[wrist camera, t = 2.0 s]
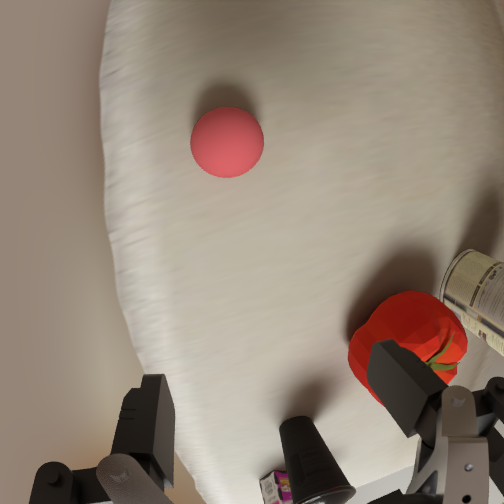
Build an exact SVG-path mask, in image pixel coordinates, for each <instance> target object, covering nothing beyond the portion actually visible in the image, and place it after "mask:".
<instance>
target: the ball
mask: <svg viewBox="0 0 504 504" xmlns="http://www.w3.org/2000/svg"><path fill="white" fill-rule="evenodd" d="M190 145H191V151H192V155H193V157H194V159H195V161H196V162H197V164H198V165H199V166H200V167H201V168H202V169H203V170H204V171H206V172H207V173H209V174H211V175H214V176H217V177H223V178H230V177H236V176H239V175H242V174H244V173H246V172H248V171H249V170H250V169H251V168H253V167H254V166H255V164H256V163H257V162H258V160H259V159H260V157H261V154H262V151H263V147H264V137H263V132H262V129H261V127H260V125H259V123H258V122H257V120H256V119H255V118H254V117H253V116H252V115H251V114H249V113H248V112H246V111H244V110H242V109H239V108H235V107H220V108H216V109H214V110H211V111H209V112H208V113H206V114H205V115H203V116H202V117H201V118H200V119H199V120H198V122H197V123H196V125H195V126H194V129H193V131H192V134H191V141H190Z"/></svg>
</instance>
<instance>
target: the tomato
mask: <svg viewBox="0 0 504 504" xmlns="http://www.w3.org/2000/svg"><path fill="white" fill-rule="evenodd" d="M386 339H393V340H394V341H395V342H396V343H397V344H398V345H399V346H400V347H404V348H406V349H408V350H410V351H412V352H414V353H415V354H416V355H417V356H418V357H419V358H420V359H421V361H423V362H425V363H426V364H427V367H428V366H429V367H430V368H431V369H432V370H433V371H434V372H435V373H436V374H437V375H438V376H439V377H440V378H441V379H442V380H443V381H444V382H445V383H446V384H448V383H449V382H450V381H451V380H452V379H453V378H454V376H455V375H456V374H457V365H458V364H459V363H460V362H459V363H457V362H458V361H460V360H461V358H462V357H463V356H464V354H465V353H466V352H467V343H468V340H467V337H466V333H465V330H464V328H463V326H462V324H461V322H460V320H459V319H458V318H457V316H456V315H455V313H454V312H453V311H452V310H451V309H450V308H448V307H447V306H446V305H445V304H444V303H442V302H441V301H440V300H438V299H437V298H436V297H434V296H432V295H430V294H428V293H425V292H418V291H411V290H408V291H405V292H402V293H398V294H395V295H392V296H391V297H389V298H388V299H386V300H385V301H384V302H382V303H381V304H380V305H379V306H378V307H377V308H376V310H375V311H374V312H373V313H372V315H371V316H370V318H369V320H368V321H367V322H366V323H365V324H364V325H363V326H362V327H360V328H359V329H357V330H356V331H355V333H354V335H353V337H352V339H351V341H350V344H349V351H348V361H349V365H350V368H351V370H352V371H353V373H354V375H355V377H356V378H357V379H358V380H359V381H360V382H361V384H362V385H363V386H364V387H366V388H367V389H368V391H369V392H370V393H371V394H372V396H373V397H374V398H375V399H376V400H377V401H378V402H379V403H381V404H382V405H383V403H382V402H381V401H380V399H379V398H378V397H377V395H376V394H375V392H374V391H373V390H372V388H371V387H370V386H369V384H368V381H367V376H366V373H367V368H368V363H369V358H370V354H371V349H372V345H373V344H374V343H375V342H379V341H383V340H386ZM383 406H384V405H383ZM384 407H385V406H384Z"/></svg>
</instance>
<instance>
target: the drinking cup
mask: <svg viewBox="0 0 504 504" xmlns="http://www.w3.org/2000/svg"><path fill="white" fill-rule="evenodd" d="M279 432H280V437H281V442H282V448H283V453H284V458H285V464H286V469H287V474H288V480H289V485H290V490H291V495H292V501H293V504H345V503H346V502H347V501H348V500H349V499H350V498H352V497H353V496H354V494H355V493H356V489H355V487H353V486H351V485H350V483H349V482H348V480H347V479H346V477H345V475H344V474H343V472H342V470H341V469H340V467H339V466H338V464H337V462H336V461H335V459H334V457H333V456H332V454H331V452H330V451H329V449H328V447H327V446H326V444H325V442H324V440H323V439H322V437H321V435H320V434H319V432H318V430H317V429H316V427H315V425H314V423H313V422H312V420H311V419H310V418H309V417H305V416H299V417H294V418H291V419H289V420H287V421H286V422H284V423H283V424H282V425H281V427H280V429H279Z"/></svg>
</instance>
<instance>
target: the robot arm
mask: <svg viewBox="0 0 504 504" xmlns="http://www.w3.org/2000/svg"><path fill="white" fill-rule="evenodd" d="M366 376H367V381H368V384H369V386H370V387H371V388H372V390H373V391H374V392H375V394H376V395H377V397H378V398H379V399H380V401H381V402H382V403H383V405H384V406H385V407H386V409H387V410H388V412H389V413H390V414H391V416H392V417H393V418H394V420H395V421H396V423H397V424H398V425H399V427H400V428H401V429H402V431H403V432H404V434H405V435H406V436H407V438H409V437H411V436H413V435H415V434H417V433H418V434H419V435H420V438H419V440H418V445H417V452H416V459H415V466H414V472H413V477H412V480H411V483H410V485H409V487H408V489H407V491H406V494H402V492H401V491H400V489H398V490H396V491H394V492H391V493H389V494H387V495H385V496H383V497H380V498H378V499H376V500H373V501H371V502H369V503H368V504H488V497H489V476H490V477H491V479H492V480H493V482H494V483H495V484H496V486H497V487H498V489H499V490H500V492H501V493H502V494H503V496H504V438H503V437H502V436H501V434H500V433H499V432H498V431H497V430H496V429H495V427H494V425H495V424H496V422H497V421H498V419H500V420H501V421H502V422H503V424H504V378H503V377H493V378H491V379H490V380H489V381H488V383H487V385H486V387H485V389H483V390H478V391H474V392H471V391H470V390H468V389H467V388H465V387H462V386H457V385H454V386H450V387H449V386H448V385H447V384H446V383H445V382H444V381H443V380H442V379H441V378H440V377H439V376H438V375H437V374H436V373H435V372H434V371H433V370H432V369H431V368H430V367H429V366H428V367H427V364H426V363H425V362H423V361H421V359H420V358H419V357H418V356H417V355H416V354H415V353H414V352H412V351H410V350H408V349H406V348H404V347H400V346H399V345H398V344H397V343H396V342H395V341H394V340H393V339H386V340H383V341H379V342H375V343H374V344H373V345H372V349H371V354H370V358H369V363H368V368H367V373H366ZM174 433H175V409H174V403H173V400H172V397H171V393H170V390H169V387H168V383H167V380H166V377H165V375H164V374H145V375H143V378H142V383H141V387H140V388H132V389H131V390H130V391H129V392H128V393H127V394H126V396H125V397H124V399H123V403H122V407H121V411H120V415H119V420H118V423H117V427H116V432H115V436H114V440H113V445H112V450H111V453H110V455H109V456H106V457H105V458H103V459H102V460H101V461H100V462H99V464H98V466H97V467H94V468H90V469H82V470H73V471H71V470H70V469H69V468H68V467H67V466H66V465H64V464H62V463H60V462H48V463H45V464H43V465H42V466H41V467H40V468H39V469H38V471H37V473H36V476H35V480H34V484H33V488H32V492H31V496H30V501H29V504H174V503H173V502H172V501H171V500H170V499H169V498H168V497H167V496H166V495H165V494H164V488H173V472H174ZM502 504H504V502H503V503H502Z"/></svg>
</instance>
